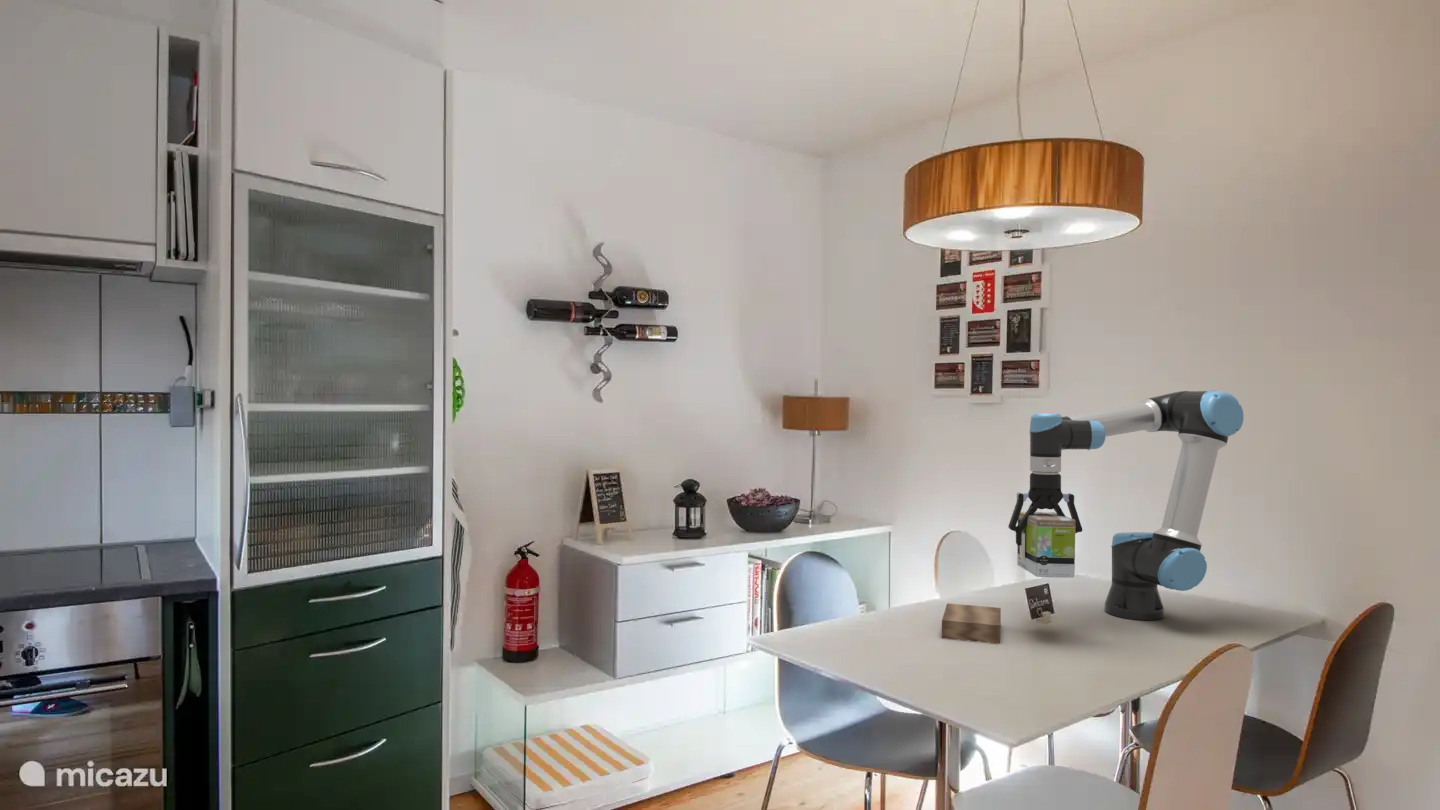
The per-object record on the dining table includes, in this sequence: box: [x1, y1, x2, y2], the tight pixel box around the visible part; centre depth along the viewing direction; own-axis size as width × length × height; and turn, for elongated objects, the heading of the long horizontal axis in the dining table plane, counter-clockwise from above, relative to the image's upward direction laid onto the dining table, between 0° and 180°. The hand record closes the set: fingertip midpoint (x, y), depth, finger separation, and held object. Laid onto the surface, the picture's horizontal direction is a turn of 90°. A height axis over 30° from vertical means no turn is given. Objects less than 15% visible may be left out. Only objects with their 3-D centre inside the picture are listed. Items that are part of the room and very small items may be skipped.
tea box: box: [1016, 511, 1076, 579], centre depth 215 cm, size 15×10×15 cm, turn 178°
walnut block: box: [941, 603, 1002, 644], centre depth 218 cm, size 14×18×5 cm
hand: (1044, 558), depth 215 cm, fingers closed on tea box, 10 cm apart
